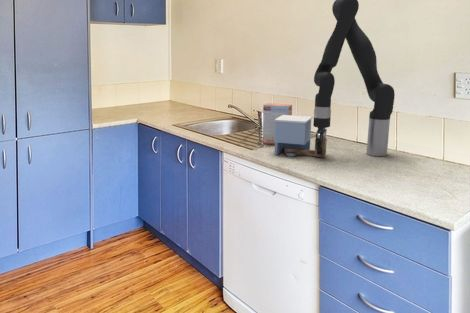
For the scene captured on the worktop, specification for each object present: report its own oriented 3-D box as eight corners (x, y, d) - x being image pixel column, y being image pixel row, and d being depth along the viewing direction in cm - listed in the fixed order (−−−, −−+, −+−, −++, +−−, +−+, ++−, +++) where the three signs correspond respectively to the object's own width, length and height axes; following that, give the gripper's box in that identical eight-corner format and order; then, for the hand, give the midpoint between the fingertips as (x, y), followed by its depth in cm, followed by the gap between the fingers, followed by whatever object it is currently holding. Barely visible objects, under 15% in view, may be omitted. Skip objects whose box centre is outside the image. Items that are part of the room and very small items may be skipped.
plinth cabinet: (310, 150, 212) (312, 116, 208) (304, 157, 198) (306, 121, 194) (281, 148, 217) (282, 114, 213) (273, 154, 204) (274, 119, 199)
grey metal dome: (297, 155, 203) (297, 152, 203) (295, 157, 198) (295, 154, 198) (287, 154, 205) (287, 151, 204) (284, 156, 200) (284, 153, 200)
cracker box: (291, 144, 224) (292, 104, 219) (286, 146, 219) (288, 105, 214) (267, 141, 231) (268, 102, 226) (262, 143, 226) (263, 104, 221)
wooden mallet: (325, 155, 201) (326, 138, 199) (324, 157, 197) (324, 140, 195) (285, 151, 208) (286, 135, 206) (283, 153, 204) (283, 137, 202)
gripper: (327, 119, 187) (325, 157, 192) (333, 114, 200) (331, 150, 204) (310, 118, 190) (308, 155, 194) (317, 113, 203) (315, 148, 207)
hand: (320, 152), depth 199 cm, fingers closed on wooden mallet, 4 cm apart
